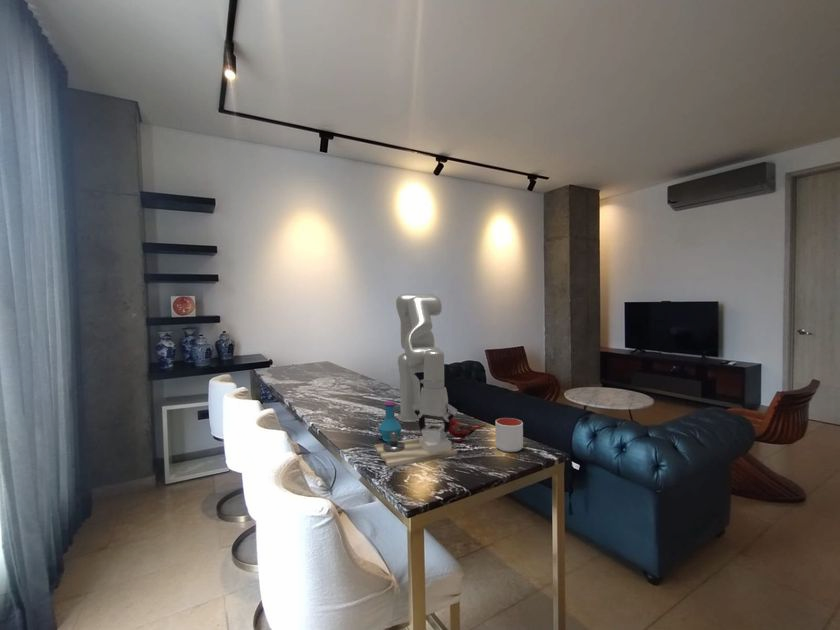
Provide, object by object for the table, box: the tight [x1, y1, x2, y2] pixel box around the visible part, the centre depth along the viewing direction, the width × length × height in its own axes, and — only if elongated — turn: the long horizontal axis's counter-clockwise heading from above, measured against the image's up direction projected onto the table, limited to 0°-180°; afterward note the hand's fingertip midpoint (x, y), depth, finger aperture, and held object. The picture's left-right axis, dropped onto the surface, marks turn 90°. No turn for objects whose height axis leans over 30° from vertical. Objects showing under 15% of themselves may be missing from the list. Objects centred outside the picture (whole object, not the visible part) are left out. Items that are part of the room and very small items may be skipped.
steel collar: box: [421, 423, 448, 444], centre depth 140 cm, size 7×7×4 cm
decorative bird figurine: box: [442, 417, 487, 443], centre depth 150 cm, size 3×18×10 cm, turn 95°
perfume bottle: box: [378, 400, 402, 443], centre depth 154 cm, size 9×9×15 cm
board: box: [373, 437, 458, 468], centre depth 140 cm, size 18×26×2 cm
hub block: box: [418, 428, 452, 454], centre depth 140 cm, size 9×9×7 cm
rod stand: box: [383, 431, 405, 452], centre depth 140 cm, size 8×8×6 cm
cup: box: [495, 417, 524, 453], centre depth 143 cm, size 10×10×10 cm
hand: (434, 429), depth 140 cm, fingers open, 9 cm apart
